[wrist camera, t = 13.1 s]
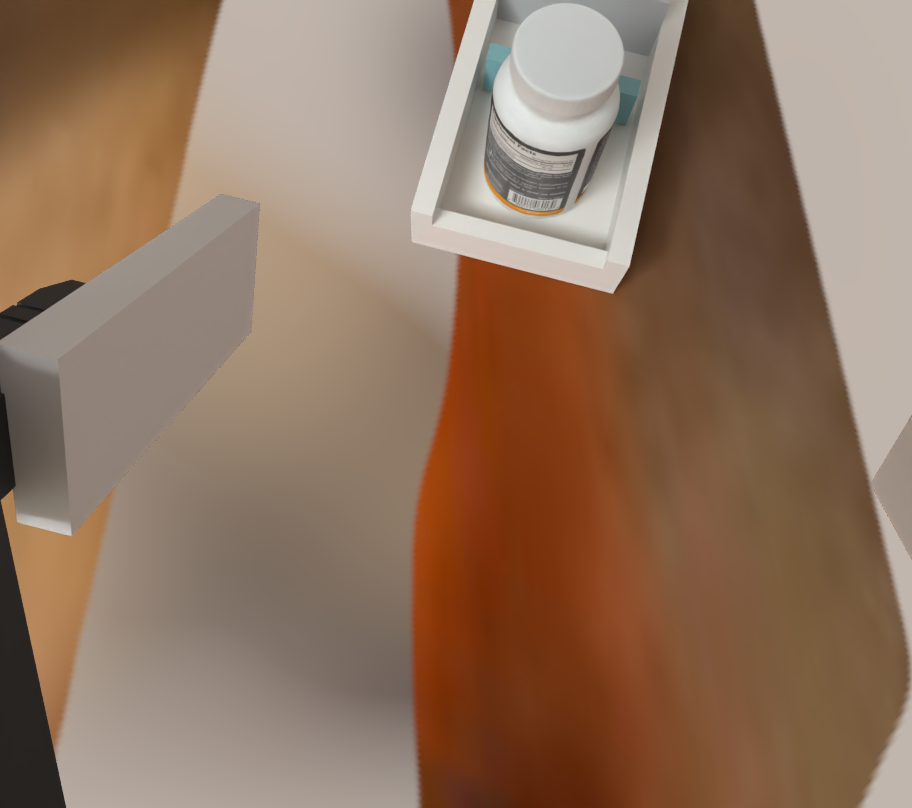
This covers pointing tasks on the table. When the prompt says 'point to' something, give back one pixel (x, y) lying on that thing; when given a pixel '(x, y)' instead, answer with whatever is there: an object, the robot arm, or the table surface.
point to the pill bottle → (552, 110)
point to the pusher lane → (613, 183)
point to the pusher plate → (626, 84)
